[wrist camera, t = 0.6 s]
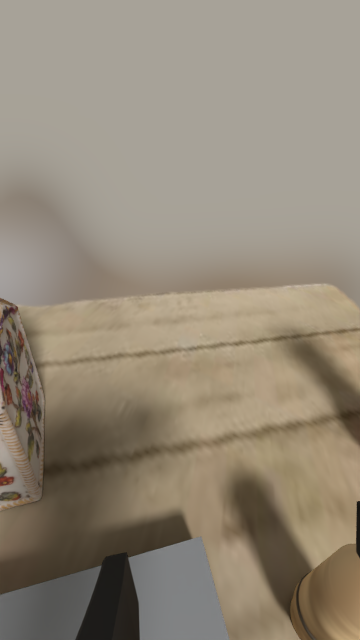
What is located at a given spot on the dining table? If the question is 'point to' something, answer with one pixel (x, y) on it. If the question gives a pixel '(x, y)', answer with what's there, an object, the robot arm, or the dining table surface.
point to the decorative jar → (19, 414)
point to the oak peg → (329, 599)
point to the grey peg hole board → (152, 591)
